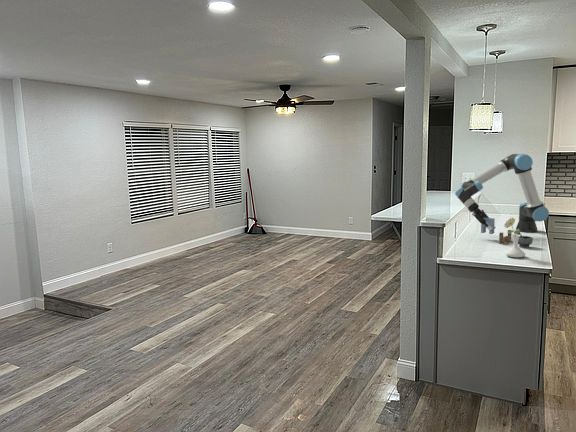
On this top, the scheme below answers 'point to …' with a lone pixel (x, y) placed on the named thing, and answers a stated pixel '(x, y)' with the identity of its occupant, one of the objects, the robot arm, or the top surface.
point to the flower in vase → (515, 250)
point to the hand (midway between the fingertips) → (492, 229)
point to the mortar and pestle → (524, 241)
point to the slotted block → (490, 222)
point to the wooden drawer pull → (504, 238)
